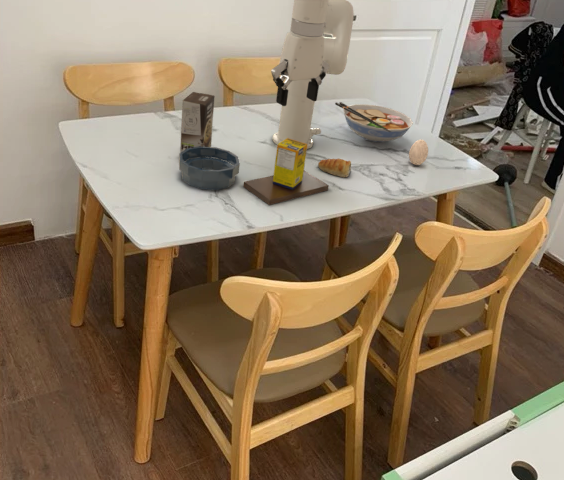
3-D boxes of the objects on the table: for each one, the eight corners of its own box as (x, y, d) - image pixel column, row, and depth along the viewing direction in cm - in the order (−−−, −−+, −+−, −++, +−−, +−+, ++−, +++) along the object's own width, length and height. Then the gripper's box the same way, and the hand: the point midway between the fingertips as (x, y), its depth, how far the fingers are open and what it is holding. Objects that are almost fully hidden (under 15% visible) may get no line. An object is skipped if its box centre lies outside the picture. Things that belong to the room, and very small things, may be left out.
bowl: (216, 162, 167) (217, 143, 164) (248, 184, 158) (250, 165, 155) (167, 171, 158) (168, 151, 155) (199, 195, 149) (200, 175, 146)
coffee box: (201, 162, 165) (205, 104, 156) (179, 158, 166) (181, 100, 157) (211, 151, 173) (215, 95, 164) (190, 146, 173) (192, 90, 164)
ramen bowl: (424, 148, 197) (431, 124, 192) (372, 157, 185) (378, 131, 180) (373, 121, 213) (379, 98, 208) (323, 127, 201) (327, 103, 196)
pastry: (315, 172, 170) (317, 159, 168) (319, 163, 176) (321, 151, 174) (348, 179, 169) (351, 166, 167) (351, 170, 175) (353, 157, 172)
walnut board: (301, 173, 168) (302, 168, 167) (327, 190, 161) (328, 185, 160) (243, 186, 156) (243, 181, 155) (269, 205, 150) (269, 199, 149)
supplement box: (301, 182, 159) (308, 143, 153) (292, 190, 155) (298, 150, 149) (281, 176, 161) (287, 137, 155) (271, 184, 156) (277, 144, 150)
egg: (413, 159, 188) (419, 135, 183) (427, 166, 185) (434, 141, 180) (402, 163, 184) (409, 138, 180) (417, 169, 181) (424, 144, 177)
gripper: (324, 22, 145) (312, 92, 154) (267, 25, 135) (259, 100, 145) (345, 30, 140) (332, 102, 150) (288, 34, 130) (278, 111, 140)
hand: (296, 101), depth 147 cm, fingers open, 9 cm apart
